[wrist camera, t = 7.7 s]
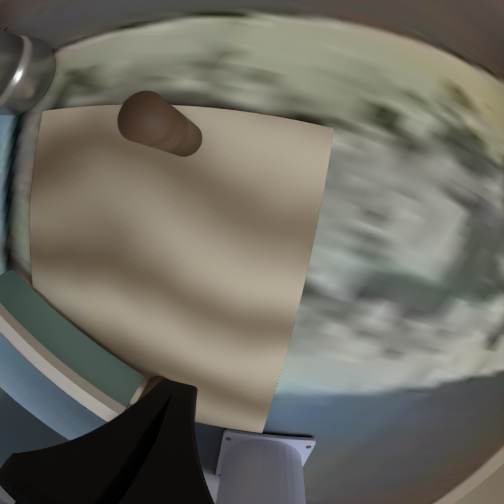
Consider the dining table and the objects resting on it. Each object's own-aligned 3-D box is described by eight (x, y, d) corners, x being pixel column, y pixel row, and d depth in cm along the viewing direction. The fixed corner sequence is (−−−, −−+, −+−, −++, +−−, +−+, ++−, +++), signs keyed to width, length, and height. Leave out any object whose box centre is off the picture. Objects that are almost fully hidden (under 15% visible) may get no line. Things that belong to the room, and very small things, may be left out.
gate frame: (262, 424, 20) (259, 492, 13) (53, 363, 20) (12, 404, 13) (330, 132, 15) (371, 98, 8) (51, 113, 15) (-15, 98, 8)
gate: (145, 374, 18) (121, 415, 13) (138, 386, 18) (115, 426, 14) (12, 267, 17) (-25, 284, 12) (10, 282, 17) (-26, 300, 13)
